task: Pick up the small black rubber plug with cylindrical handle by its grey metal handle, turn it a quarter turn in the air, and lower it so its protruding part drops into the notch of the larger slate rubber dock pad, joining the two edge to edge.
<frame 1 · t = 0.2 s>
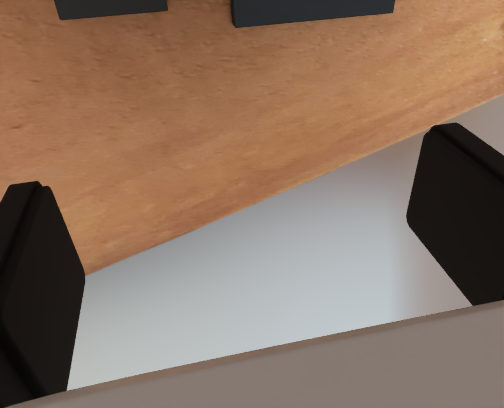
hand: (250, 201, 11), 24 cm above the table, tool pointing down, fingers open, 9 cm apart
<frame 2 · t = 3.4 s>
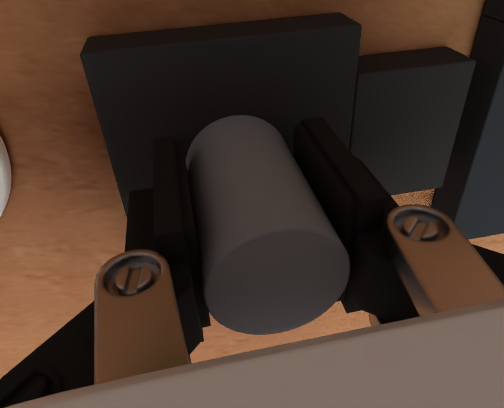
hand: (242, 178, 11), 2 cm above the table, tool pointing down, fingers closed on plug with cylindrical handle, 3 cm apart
plug with cylindrical handle: (229, 139, 13), on the table, touching gripper
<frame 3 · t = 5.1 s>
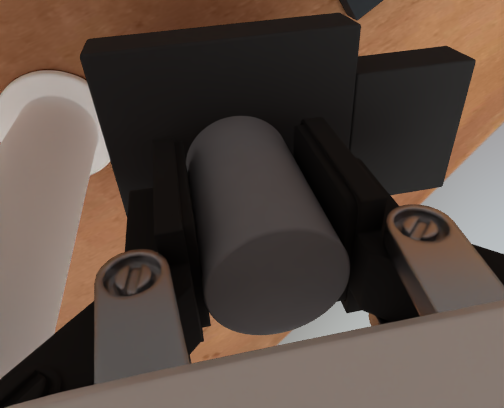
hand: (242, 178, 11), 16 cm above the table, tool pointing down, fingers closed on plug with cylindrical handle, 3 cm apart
plug with cylindrical handle: (229, 139, 13), point 14 cm above the table, touching gripper
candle: (61, 124, 26), on the table
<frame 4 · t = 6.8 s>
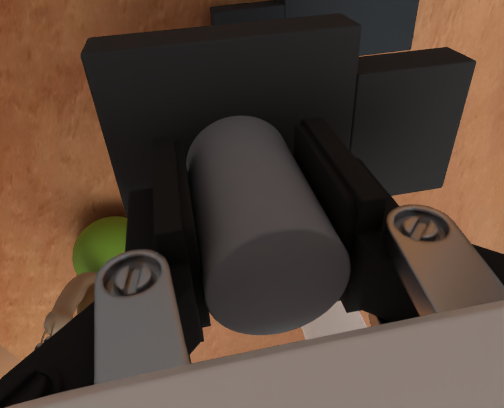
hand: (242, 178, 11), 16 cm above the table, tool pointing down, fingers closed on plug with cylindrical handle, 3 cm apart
plug with cylindrical handle: (229, 139, 13), point 14 cm above the table, touching gripper
snail figurine: (112, 225, 31), on the table
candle: (304, 258, 37), on the table
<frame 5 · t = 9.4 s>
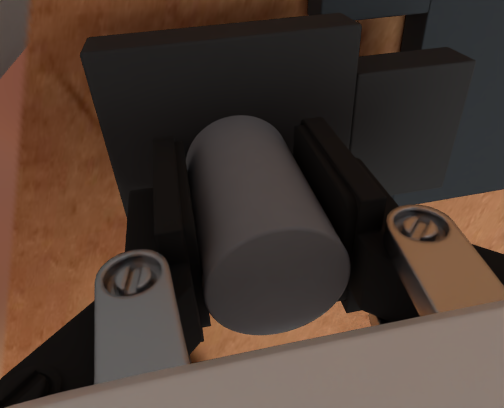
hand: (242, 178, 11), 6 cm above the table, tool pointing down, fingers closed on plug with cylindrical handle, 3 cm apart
plug with cylindrical handle: (229, 139, 13), point 4 cm above the table, touching gripper
dock pad: (439, 69, 18), on the table
when the fingers open (2 cm above the table, at t = 10.6 s): plug with cylindrical handle stays where it is, on the table.
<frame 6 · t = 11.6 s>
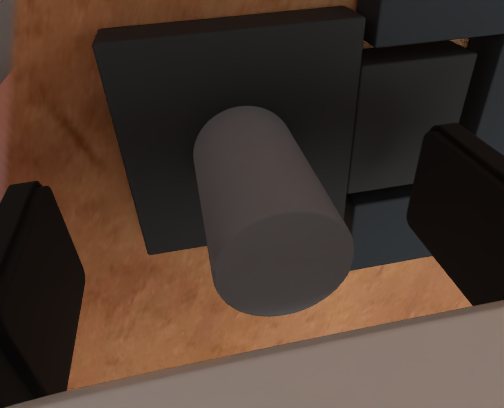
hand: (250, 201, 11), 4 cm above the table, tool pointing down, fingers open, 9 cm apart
plug with cylindrical handle: (235, 130, 14), on the table
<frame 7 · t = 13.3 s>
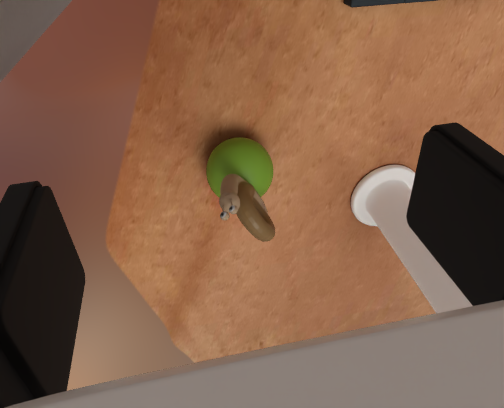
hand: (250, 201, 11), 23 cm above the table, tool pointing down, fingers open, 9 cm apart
snail figurine: (231, 150, 36), on the table
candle: (383, 193, 42), on the table
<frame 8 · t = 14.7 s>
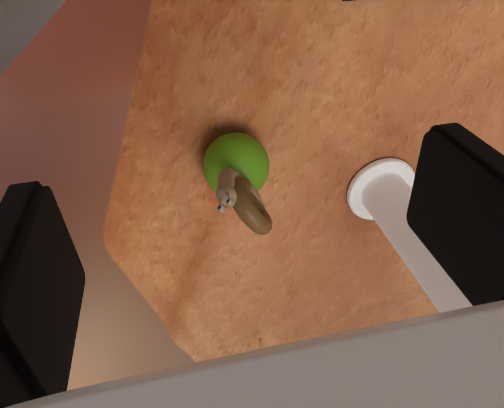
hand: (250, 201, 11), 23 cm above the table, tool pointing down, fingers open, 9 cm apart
snail figurine: (227, 145, 36), on the table
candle: (378, 186, 42), on the table
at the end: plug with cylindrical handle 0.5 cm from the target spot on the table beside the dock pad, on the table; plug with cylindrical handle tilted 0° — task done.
